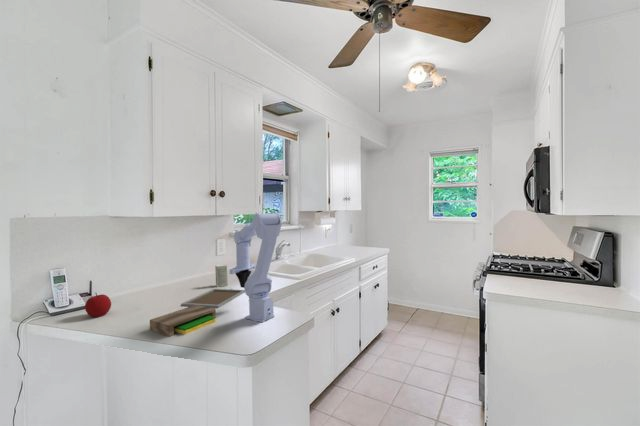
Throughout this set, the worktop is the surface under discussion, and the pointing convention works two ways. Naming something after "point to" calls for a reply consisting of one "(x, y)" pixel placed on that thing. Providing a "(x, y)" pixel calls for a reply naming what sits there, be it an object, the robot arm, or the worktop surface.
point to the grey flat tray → (214, 298)
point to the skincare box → (221, 275)
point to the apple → (98, 305)
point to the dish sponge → (194, 324)
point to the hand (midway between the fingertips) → (243, 287)
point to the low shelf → (179, 318)
